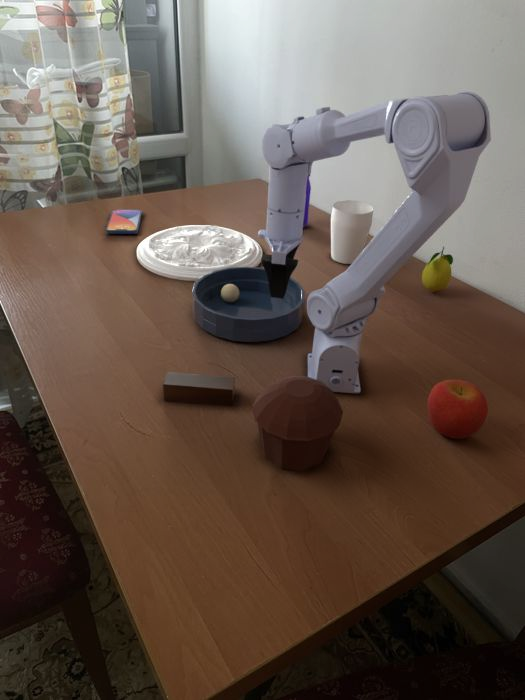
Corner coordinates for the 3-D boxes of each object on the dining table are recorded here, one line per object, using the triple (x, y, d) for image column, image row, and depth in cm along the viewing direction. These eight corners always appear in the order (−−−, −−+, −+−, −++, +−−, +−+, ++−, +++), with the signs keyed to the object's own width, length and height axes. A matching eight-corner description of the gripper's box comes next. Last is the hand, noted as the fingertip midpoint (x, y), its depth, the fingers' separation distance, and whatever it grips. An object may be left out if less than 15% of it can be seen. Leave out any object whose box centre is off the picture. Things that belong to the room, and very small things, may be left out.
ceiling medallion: (220, 222, 140) (221, 210, 138) (287, 263, 121) (288, 250, 119) (116, 242, 126) (115, 229, 124) (173, 292, 107) (172, 278, 105)
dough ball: (240, 301, 102) (234, 283, 101) (222, 306, 102) (217, 288, 101) (242, 297, 105) (237, 280, 104) (225, 302, 106) (220, 284, 105)
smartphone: (142, 213, 142) (142, 209, 141) (137, 234, 129) (137, 230, 129) (113, 213, 141) (112, 209, 141) (105, 234, 129) (105, 230, 128)
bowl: (302, 349, 93) (304, 323, 90) (183, 340, 93) (182, 314, 90) (302, 293, 109) (304, 270, 107) (202, 286, 110) (201, 263, 107)
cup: (364, 268, 121) (373, 216, 114) (323, 263, 122) (330, 211, 115) (366, 253, 128) (374, 202, 121) (328, 248, 129) (334, 198, 123)
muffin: (289, 407, 80) (294, 351, 74) (352, 445, 74) (364, 386, 68) (232, 449, 72) (234, 389, 66) (298, 494, 66) (306, 432, 61)
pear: (419, 298, 110) (430, 252, 105) (413, 284, 115) (423, 240, 110) (452, 300, 110) (464, 254, 105) (444, 286, 115) (456, 242, 110)
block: (232, 406, 79) (232, 389, 78) (163, 400, 80) (162, 384, 78) (234, 393, 82) (234, 377, 80) (168, 388, 82) (167, 371, 80)
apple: (454, 457, 73) (470, 412, 68) (409, 424, 78) (421, 380, 74) (489, 436, 77) (505, 392, 72) (444, 405, 82) (457, 363, 78)
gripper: (266, 190, 90) (262, 265, 98) (253, 220, 78) (249, 304, 86) (308, 194, 90) (301, 269, 97) (302, 225, 78) (294, 309, 85)
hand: (279, 286), depth 91 cm, fingers open, 7 cm apart
